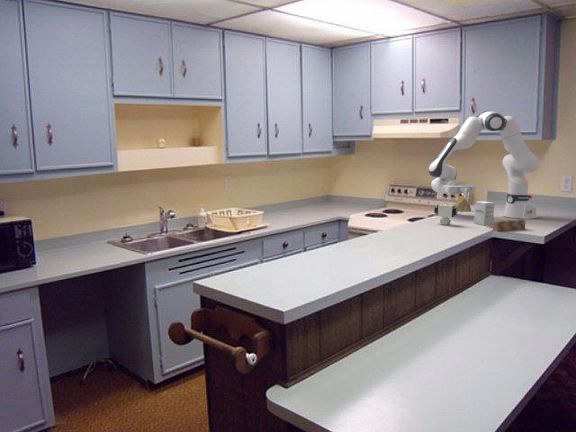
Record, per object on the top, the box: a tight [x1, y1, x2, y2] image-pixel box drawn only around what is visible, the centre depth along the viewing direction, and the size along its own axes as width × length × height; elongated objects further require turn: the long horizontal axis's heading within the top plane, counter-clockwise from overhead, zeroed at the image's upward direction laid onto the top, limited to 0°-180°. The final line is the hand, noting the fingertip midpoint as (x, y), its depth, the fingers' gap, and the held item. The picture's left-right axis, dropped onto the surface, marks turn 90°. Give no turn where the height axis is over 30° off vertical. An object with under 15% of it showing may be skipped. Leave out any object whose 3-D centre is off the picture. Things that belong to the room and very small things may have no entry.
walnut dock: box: [485, 218, 527, 232], centre depth 277 cm, size 20×12×5 cm, turn 114°
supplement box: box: [473, 200, 495, 226], centre depth 289 cm, size 7×7×13 cm
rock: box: [454, 195, 472, 212], centre depth 339 cm, size 11×9×10 cm
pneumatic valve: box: [434, 202, 459, 226], centre depth 286 cm, size 6×12×12 cm, turn 59°
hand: (468, 190), depth 299 cm, fingers closed
